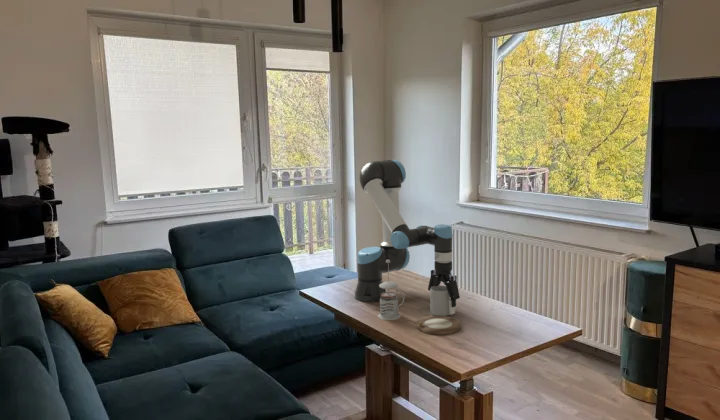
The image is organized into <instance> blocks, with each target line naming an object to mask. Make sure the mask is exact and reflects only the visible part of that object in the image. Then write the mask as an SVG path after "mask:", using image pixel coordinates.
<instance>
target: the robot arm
mask: <svg viewBox="0 0 720 420" xmlns="http://www.w3.org/2000/svg"><path fill="white" fill-rule="evenodd" d="M406 173H407V172H406V168H405V166H404V165H403V164H402V163H401V162H400V161H399V160H397V159H386V160H374V161H373V160H372V161H369V162H367V163H365V164H364V165H363V166H362V168H361V169H360V171H359V183H360V186H361V189H362V191H363V192H364V193H365V194H367V195H368V196H369V197H370V200H371V201H372V203H373V204H374V206H375V208H376V209H377V211H378V213H379V214H380V216H381V221H382V222H381V224H382V226H381V227H382V228H381V229H382V241H381V243H380V245H379V246H367V247H364V248H361V249H360V250H359V251H358V252H357V259H356V262H357V265H356V266H357V284H356V286H355V291H354V298H355V299H356V300H358V301H362V302H377V301H378V302H380V297H381V293H383V292H387V291H386V290H387V289H382V288H380V287H379V285H380V284H381V283H383V282H384V281H383V274H386V273H387V274H388V264H389V273H391V272H395V271H399V270H403V269H405V268H406V267H407V266H408V265H409V262H410V256H411V255H410V251H409V250H408V249H409V248H412V247H417V246H418V247H419V246H423V245H430V246H431V245H432V246H434V249H433V250H434V269H432V270H430V277H429V283H428V286H427V290H428V291H430V288H431V287H433V286H435V287H436V286H441V285H440V284H441V283H443V286H446V288H447V290H448V293H449V296H450V299H449V315H450V316H451V315H454V314H456V306H457V300H460V298H461V297H460V292H459V291H460V290H459V287H458V282H457V278H458V277H457V275H454V274H453V275H452V272H451V271H452V270H453V236H454V234H453V227H452V225H449V224H445V223H444V224H441V223H440V224H435V226H434V227H432V226H428V225H419V226H417V227H415V228H410V227H409V226H408V224H407V223H406V222H405V220H404V218H403V216H402V215H401V213H400V200H399V191H400V190H401V188H402V184H403V183H404V182H405V180H406V176H407V175H406ZM386 260H390V263H386Z"/></svg>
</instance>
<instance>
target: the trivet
mask: <svg viewBox="0 0 720 420" xmlns="http://www.w3.org/2000/svg"><path fill="white" fill-rule="evenodd" d="M415 327H416V329H417V331H420V332H421V333H424V334H426V335H427V334H428V335H431V336H432V335H433V336H447V335H449V336H450V335H452V334H456V333H458V332H459V331H461V328H462V323H461V321H460V320H458V319H456V318H454V317H450V316H448V315H446V316H435V315H428V316H424V317H423V316H422V317H421V318H419V319H417V320H416V322H415Z"/></svg>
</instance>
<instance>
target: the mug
mask: <svg viewBox="0 0 720 420" xmlns="http://www.w3.org/2000/svg"><path fill="white" fill-rule="evenodd" d="M429 291H430V292H429V293H430V294H429V297H430V298H429V299H430V300H429V302H430V303H429V304H430V305H429V306H430V307H429V308H430V309H429V310H430V311H429V312H430V314H431V316H449V315H450V314H449V299H451V298H450V296H449V293H448V290H447V288H446V285H439V286H436V287H435V286H433V287H431V288H430V290H429Z"/></svg>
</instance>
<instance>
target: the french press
mask: <svg viewBox="0 0 720 420" xmlns="http://www.w3.org/2000/svg"><path fill="white" fill-rule="evenodd" d="M386 263H390V260H386ZM389 273H390V272H389V264H388V272H387V277H388V278H387V279H388V281H382V282H383V283H381V284H380V285H379V287H380V288H382V289H385V290H387V291H386V292H383V293H381V297H380V300H379V314H378V315H377V317H378V319H380V320H384V321H395V320H398V319H400V318H401V314H400V313H399V312H400V311H399V307H400V306H402V305H403V304H404V302H405V293H404V291H403V290H402V289H400V288H398V286H399V284H398V283H396V282H395V281H391V280H390V277H389ZM396 288H397V292H401V296H402V302H401V303H399V297H398V293H397V292H394V291H390V290H394V289H396Z"/></svg>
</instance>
